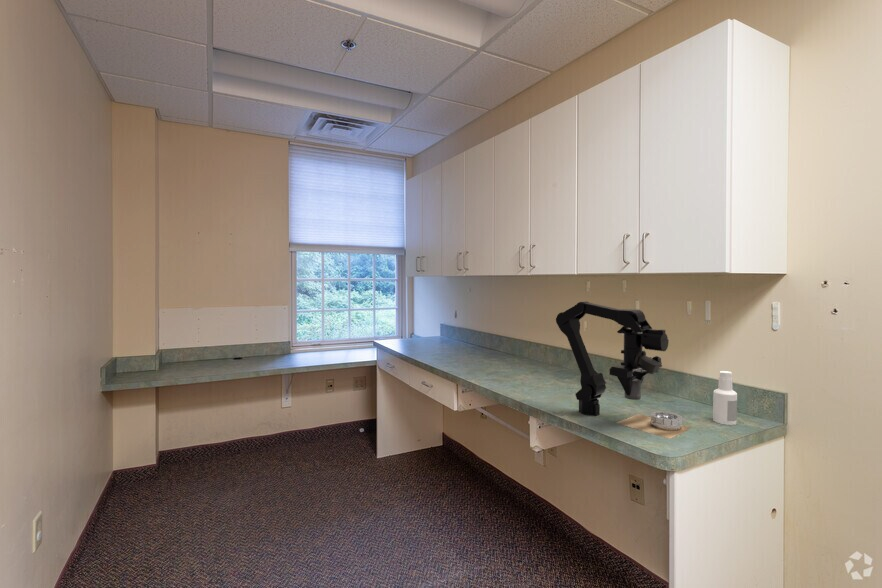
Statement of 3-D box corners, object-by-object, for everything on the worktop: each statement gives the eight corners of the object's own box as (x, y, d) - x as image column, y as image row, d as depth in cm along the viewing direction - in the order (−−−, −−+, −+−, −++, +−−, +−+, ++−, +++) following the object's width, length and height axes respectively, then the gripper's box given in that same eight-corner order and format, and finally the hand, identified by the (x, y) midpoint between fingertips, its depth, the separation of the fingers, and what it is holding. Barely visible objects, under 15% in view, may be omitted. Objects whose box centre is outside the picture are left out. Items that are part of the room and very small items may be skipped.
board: (615, 425, 148) (615, 422, 148) (639, 416, 157) (639, 413, 157) (669, 441, 133) (670, 438, 133) (692, 430, 142) (692, 427, 142)
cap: (621, 397, 146) (621, 379, 146) (629, 394, 149) (629, 376, 149) (635, 400, 142) (635, 382, 142) (643, 397, 145) (643, 379, 145)
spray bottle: (739, 428, 144) (740, 374, 143) (715, 426, 146) (716, 373, 145) (733, 422, 150) (734, 370, 149) (710, 419, 153) (711, 369, 152)
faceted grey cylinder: (645, 425, 145) (645, 415, 145) (659, 419, 150) (659, 409, 150) (673, 433, 138) (673, 422, 137) (687, 426, 143) (687, 416, 143)
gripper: (641, 354, 133) (641, 404, 134) (671, 347, 144) (670, 394, 145) (608, 349, 142) (608, 396, 143) (638, 343, 153) (638, 387, 154)
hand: (632, 393), depth 146 cm, fingers closed on cap, 5 cm apart
